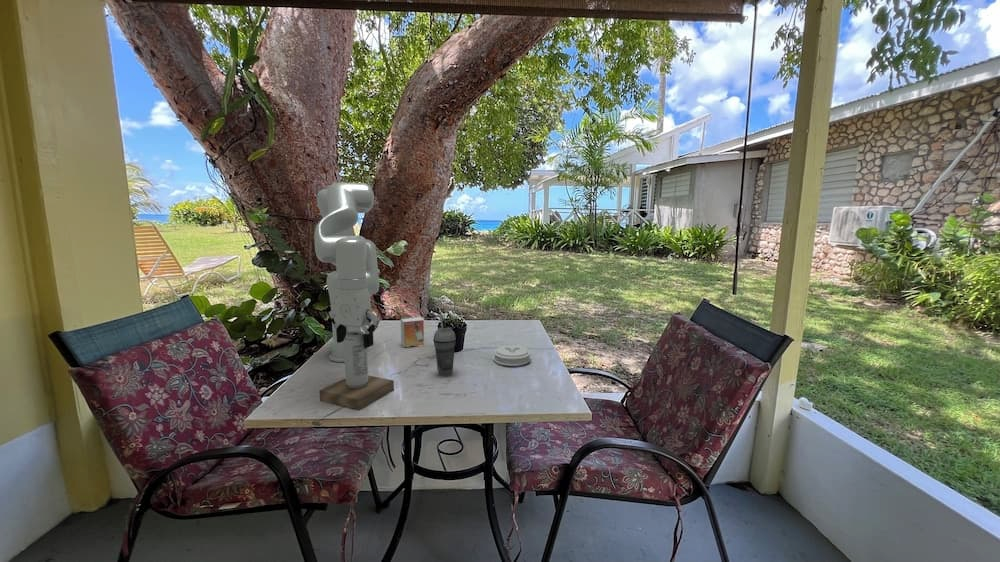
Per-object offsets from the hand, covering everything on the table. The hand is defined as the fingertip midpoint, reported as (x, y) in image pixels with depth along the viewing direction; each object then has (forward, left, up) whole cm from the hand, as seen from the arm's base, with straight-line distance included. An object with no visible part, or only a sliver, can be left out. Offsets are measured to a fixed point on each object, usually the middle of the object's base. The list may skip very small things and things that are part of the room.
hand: (355, 343), depth 116 cm
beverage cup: (+15, +23, -15) cm, 31 cm away
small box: (-13, +44, -15) cm, 49 cm away
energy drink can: (0, 0, -12) cm, 12 cm away
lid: (+30, +43, -15) cm, 55 cm away
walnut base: (+1, -1, -15) cm, 15 cm away
